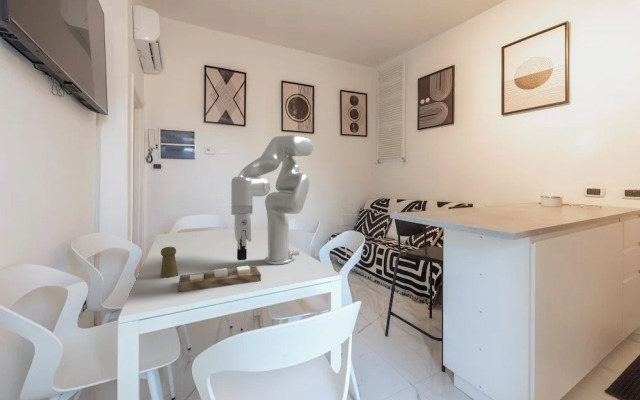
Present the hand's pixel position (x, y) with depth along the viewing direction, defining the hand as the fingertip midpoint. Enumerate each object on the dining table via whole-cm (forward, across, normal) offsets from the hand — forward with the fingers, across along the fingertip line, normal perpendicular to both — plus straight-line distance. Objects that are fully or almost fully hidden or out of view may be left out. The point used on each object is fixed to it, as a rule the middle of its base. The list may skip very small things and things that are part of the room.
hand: (241, 259), depth 101 cm
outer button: (+7, +1, +15) cm, 17 cm away
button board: (+8, +1, +7) cm, 10 cm away
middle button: (+6, +1, +7) cm, 9 cm away
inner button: (+6, +1, -1) cm, 6 cm away
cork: (+8, +16, +25) cm, 31 cm away
